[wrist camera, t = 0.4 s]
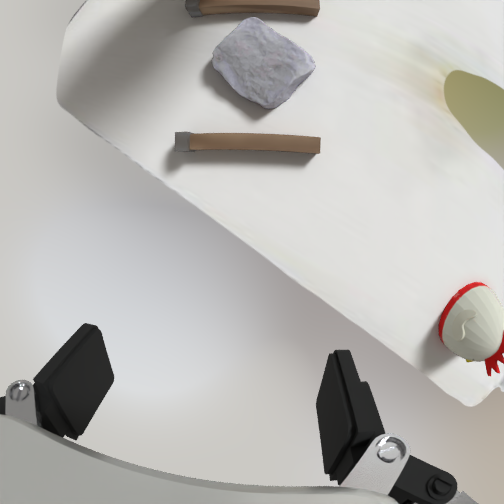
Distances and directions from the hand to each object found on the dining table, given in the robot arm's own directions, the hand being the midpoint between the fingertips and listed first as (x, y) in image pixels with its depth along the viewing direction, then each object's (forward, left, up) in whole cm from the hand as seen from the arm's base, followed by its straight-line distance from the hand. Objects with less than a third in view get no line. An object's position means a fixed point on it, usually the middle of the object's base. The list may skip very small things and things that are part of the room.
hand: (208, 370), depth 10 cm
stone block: (-21, 0, -30) cm, 36 cm away
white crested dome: (+16, +41, -30) cm, 53 cm away
